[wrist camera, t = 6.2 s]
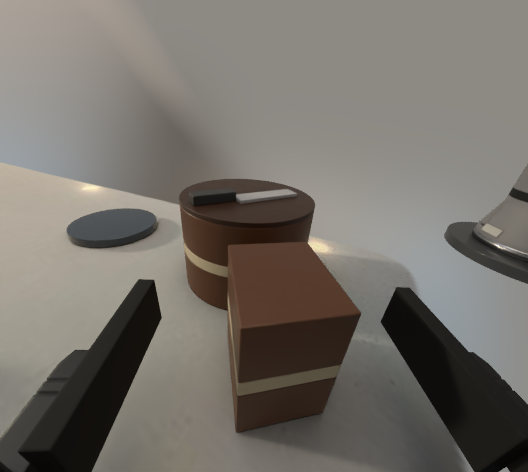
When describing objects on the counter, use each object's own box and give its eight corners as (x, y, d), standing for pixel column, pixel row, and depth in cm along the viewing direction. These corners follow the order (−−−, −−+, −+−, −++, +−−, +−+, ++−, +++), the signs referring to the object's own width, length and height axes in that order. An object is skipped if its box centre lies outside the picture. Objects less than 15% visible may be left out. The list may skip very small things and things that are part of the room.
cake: (282, 240, 31) (291, 173, 26) (319, 304, 20) (343, 211, 16) (191, 244, 28) (185, 169, 24) (181, 320, 18) (166, 213, 13)
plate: (162, 214, 35) (162, 208, 35) (148, 245, 27) (146, 238, 26) (90, 214, 33) (89, 208, 33) (50, 249, 25) (46, 242, 24)
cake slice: (227, 335, 17) (227, 244, 13) (290, 327, 18) (306, 241, 14) (235, 433, 12) (239, 329, 8) (322, 413, 13) (362, 313, 9)
